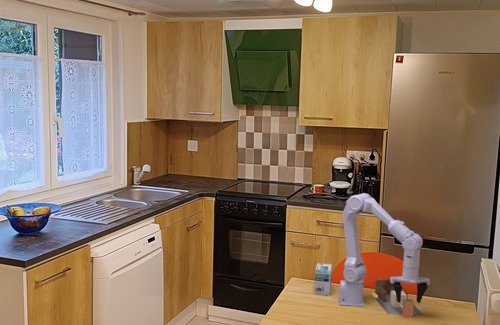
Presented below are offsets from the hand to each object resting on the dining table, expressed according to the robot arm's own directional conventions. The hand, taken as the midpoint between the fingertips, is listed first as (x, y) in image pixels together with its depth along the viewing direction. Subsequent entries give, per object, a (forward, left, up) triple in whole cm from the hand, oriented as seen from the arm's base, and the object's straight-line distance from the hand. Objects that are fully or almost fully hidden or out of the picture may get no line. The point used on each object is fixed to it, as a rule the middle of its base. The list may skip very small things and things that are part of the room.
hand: (408, 301), depth 203 cm
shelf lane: (-2, +14, -6) cm, 16 cm away
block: (-1, +6, -6) cm, 8 cm away
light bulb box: (-31, +23, -6) cm, 39 cm away
